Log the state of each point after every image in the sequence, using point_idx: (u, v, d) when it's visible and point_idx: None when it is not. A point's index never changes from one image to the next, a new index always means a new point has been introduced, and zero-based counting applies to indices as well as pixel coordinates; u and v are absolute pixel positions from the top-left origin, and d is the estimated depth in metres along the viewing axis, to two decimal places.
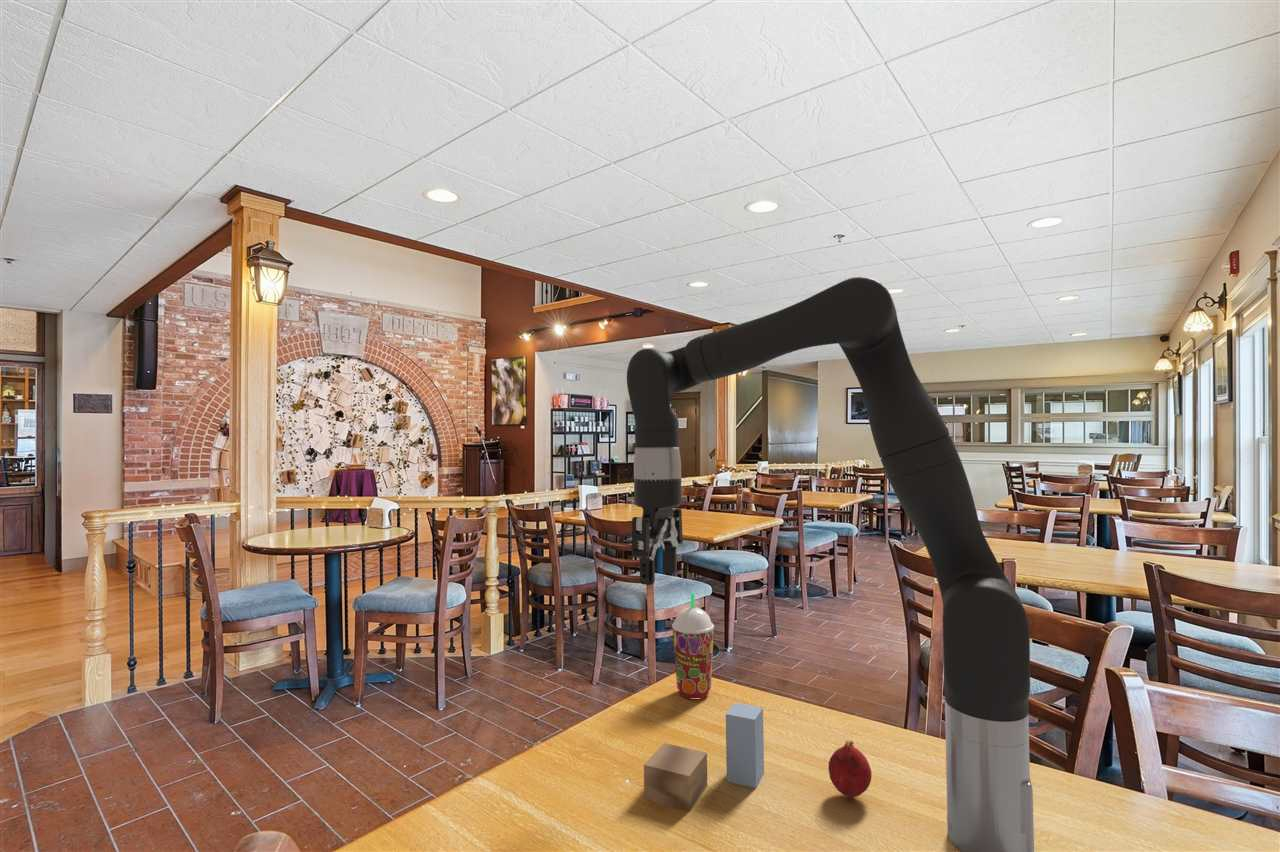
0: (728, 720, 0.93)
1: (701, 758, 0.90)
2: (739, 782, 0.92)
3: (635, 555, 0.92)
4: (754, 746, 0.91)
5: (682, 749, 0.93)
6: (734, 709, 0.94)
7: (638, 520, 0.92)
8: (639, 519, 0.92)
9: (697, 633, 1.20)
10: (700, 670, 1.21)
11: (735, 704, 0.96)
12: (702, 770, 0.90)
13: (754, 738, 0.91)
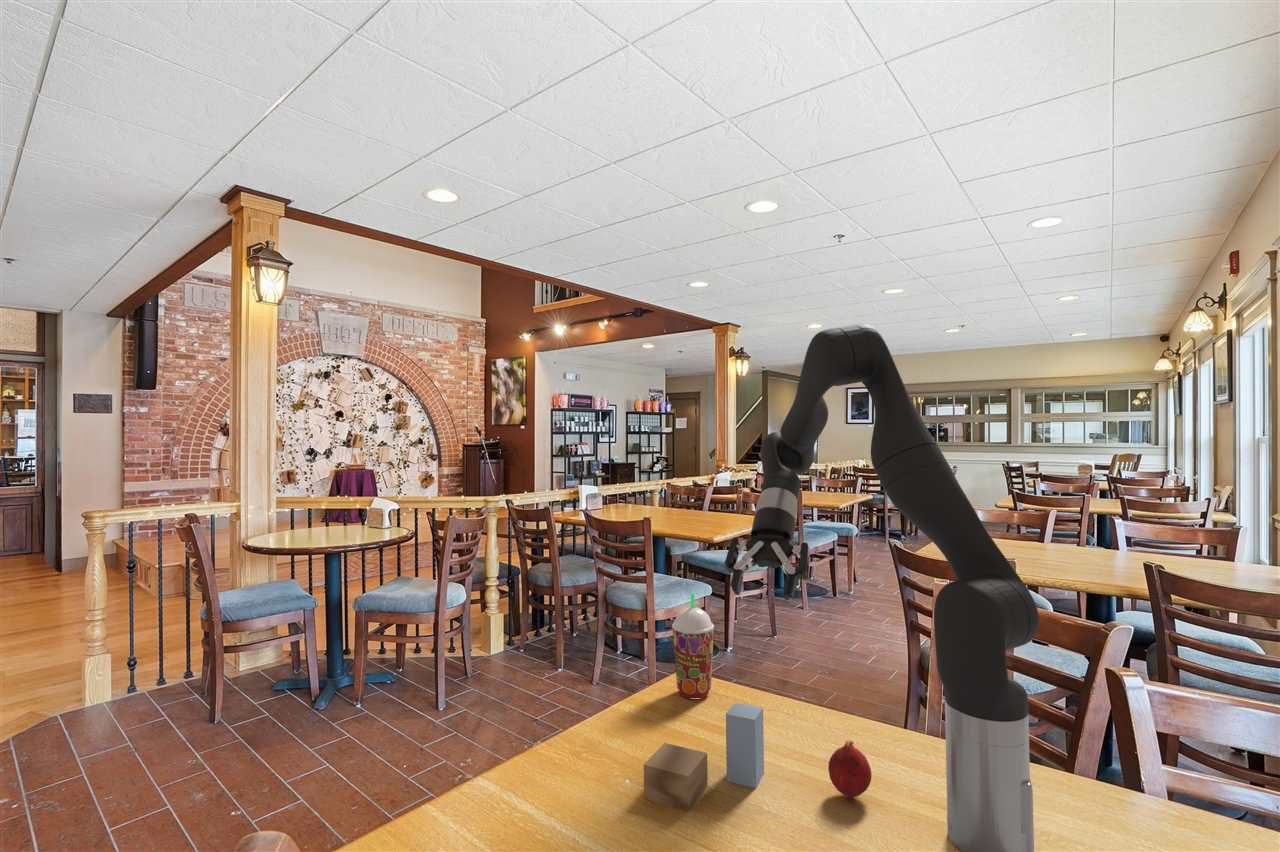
0: (728, 720, 0.93)
1: (701, 758, 0.90)
2: (739, 782, 0.92)
3: (727, 569, 1.11)
4: (754, 746, 0.91)
5: (682, 749, 0.93)
6: (734, 709, 0.94)
7: None
8: None
9: (697, 633, 1.20)
10: (700, 670, 1.21)
11: (735, 704, 0.96)
12: (702, 770, 0.90)
13: (754, 738, 0.91)
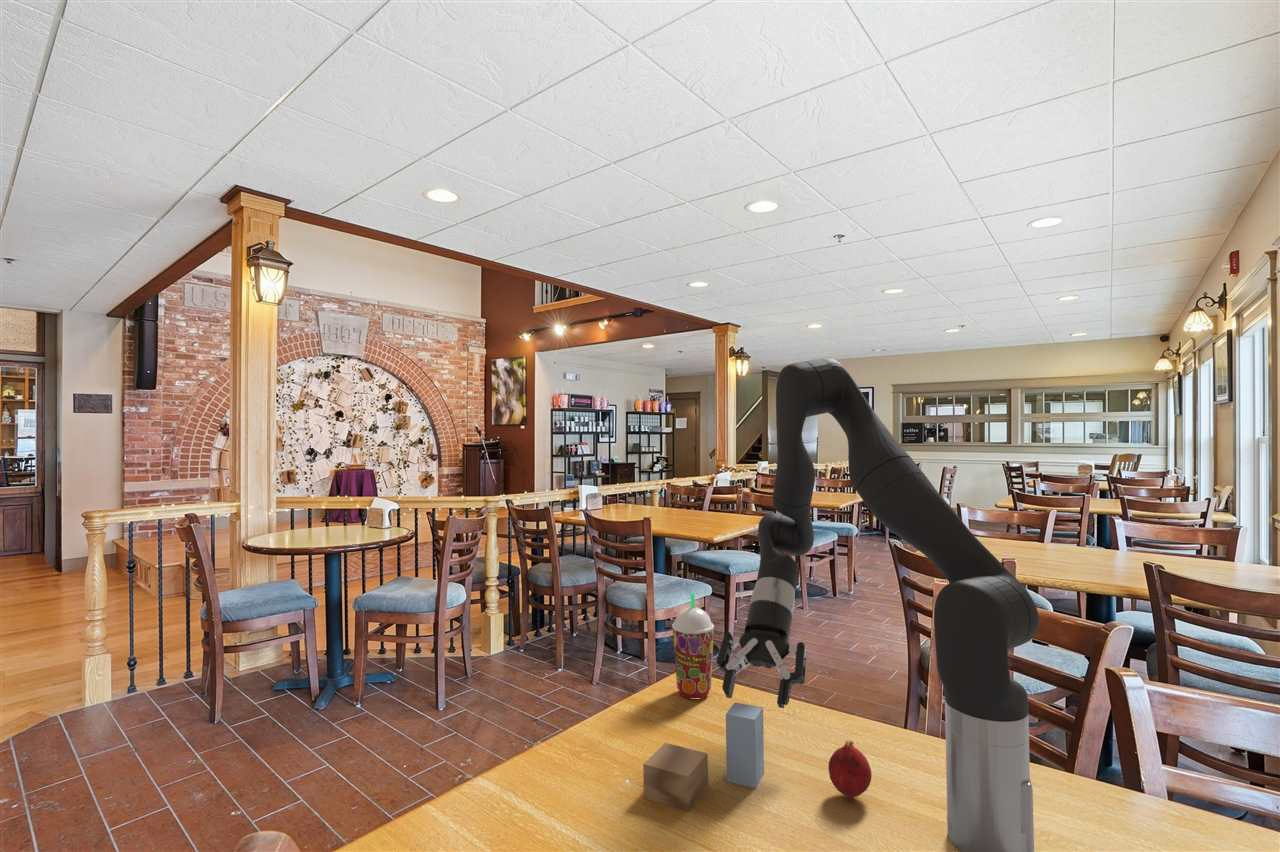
0: (728, 720, 0.93)
1: (701, 759, 0.90)
2: (739, 782, 0.92)
3: (719, 666, 1.05)
4: (754, 746, 0.91)
5: (683, 749, 0.93)
6: (734, 709, 0.94)
7: None
8: None
9: (697, 633, 1.20)
10: (700, 670, 1.21)
11: (735, 704, 0.96)
12: (703, 770, 0.90)
13: (754, 738, 0.91)
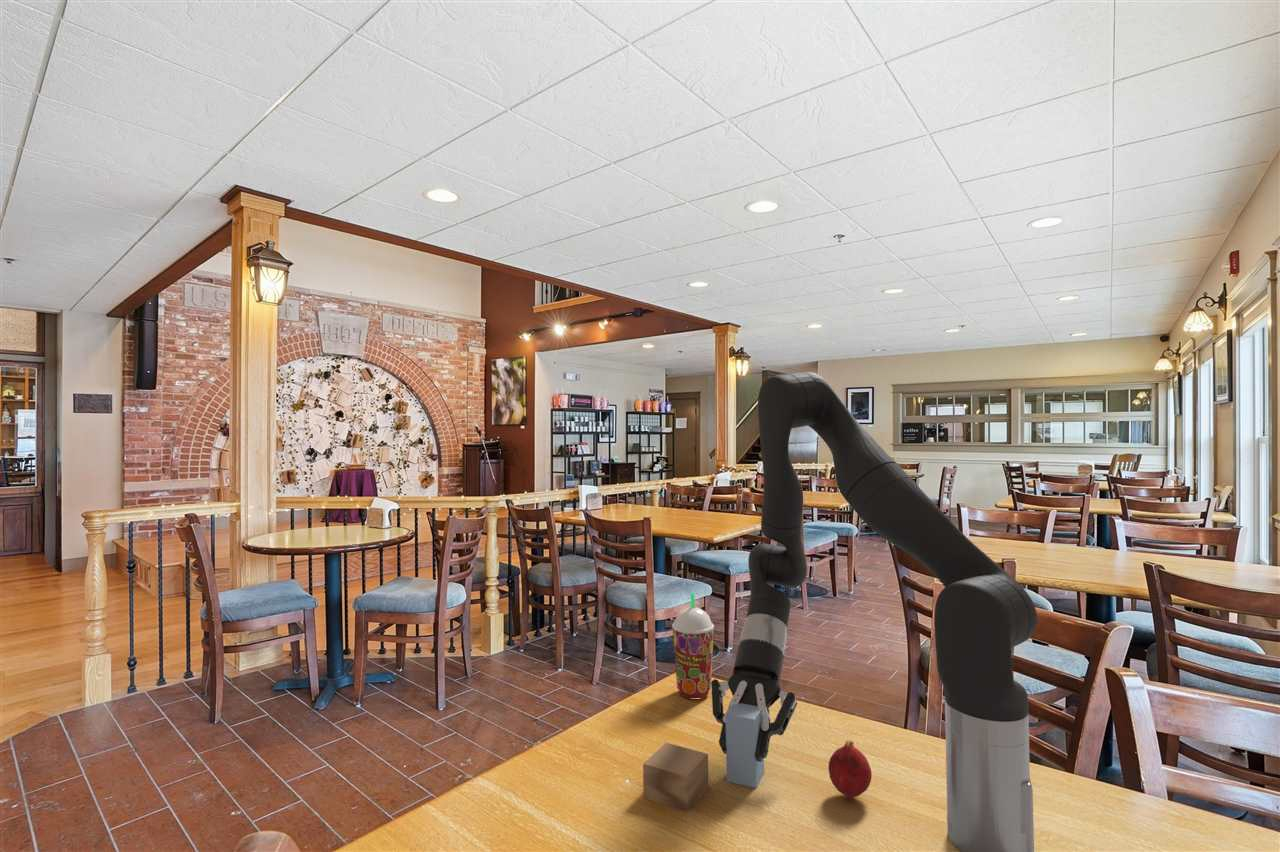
0: (727, 720, 0.93)
1: (701, 759, 0.90)
2: (739, 782, 0.92)
3: None
4: (754, 746, 0.91)
5: (683, 749, 0.93)
6: (734, 709, 0.94)
7: None
8: None
9: (697, 633, 1.20)
10: (700, 670, 1.21)
11: (735, 704, 0.96)
12: (703, 771, 0.90)
13: (754, 738, 0.91)
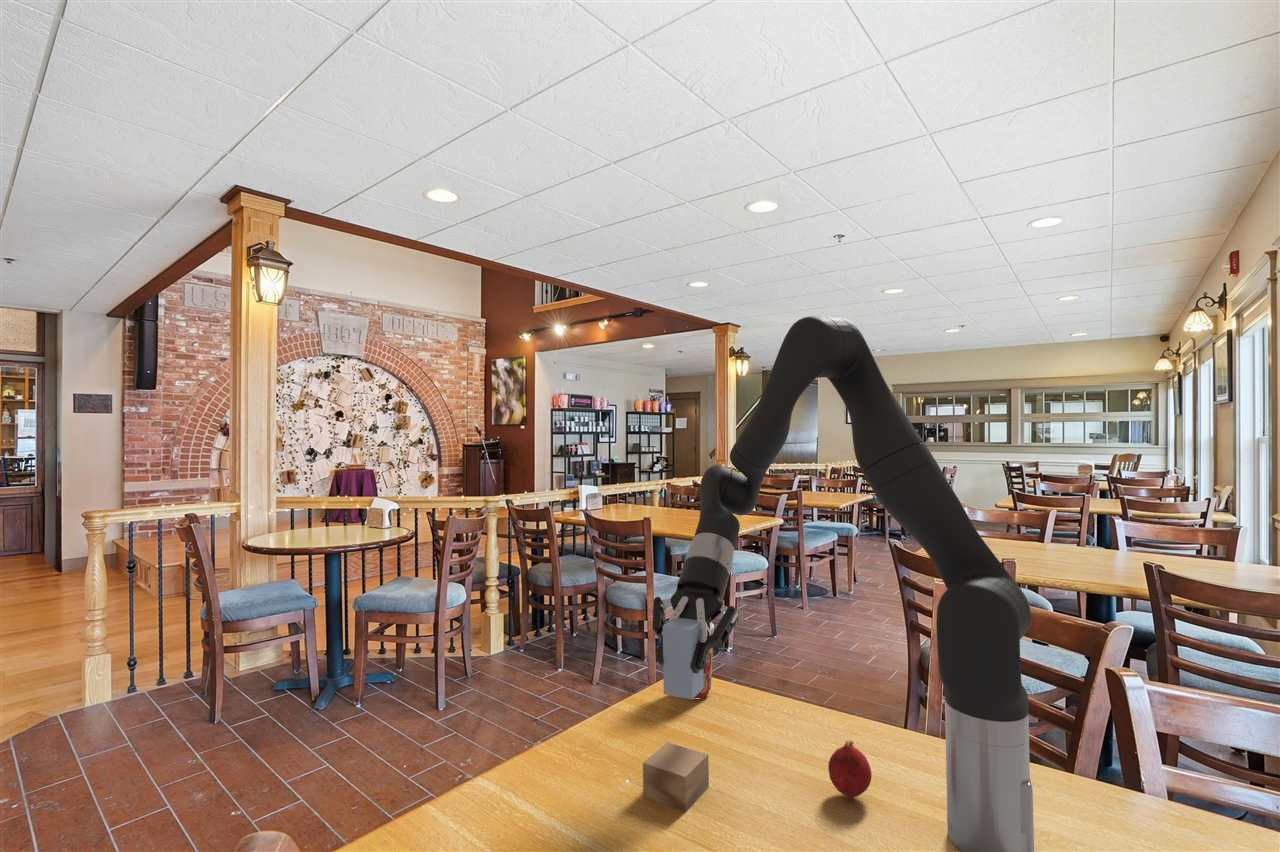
0: (665, 632, 0.90)
1: (701, 760, 0.90)
2: (676, 694, 0.90)
3: (656, 634, 0.96)
4: (690, 656, 0.89)
5: (684, 749, 0.93)
6: (672, 622, 0.92)
7: None
8: None
9: None
10: None
11: None
12: (703, 771, 0.90)
13: (690, 648, 0.89)
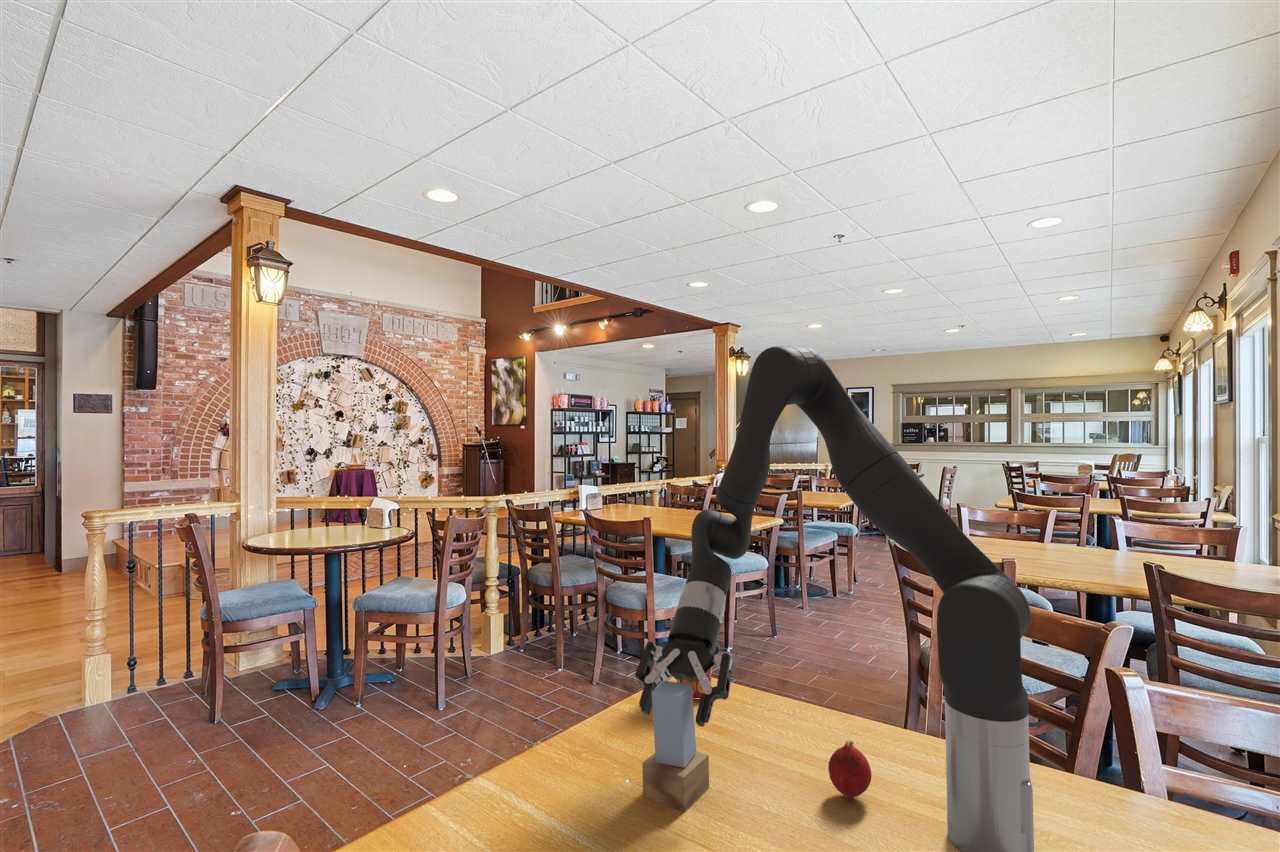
0: (654, 698, 0.89)
1: (701, 760, 0.90)
2: (668, 762, 0.88)
3: None
4: (680, 724, 0.87)
5: None
6: (661, 687, 0.91)
7: None
8: None
9: None
10: None
11: (664, 682, 0.93)
12: (703, 772, 0.89)
13: (680, 715, 0.88)
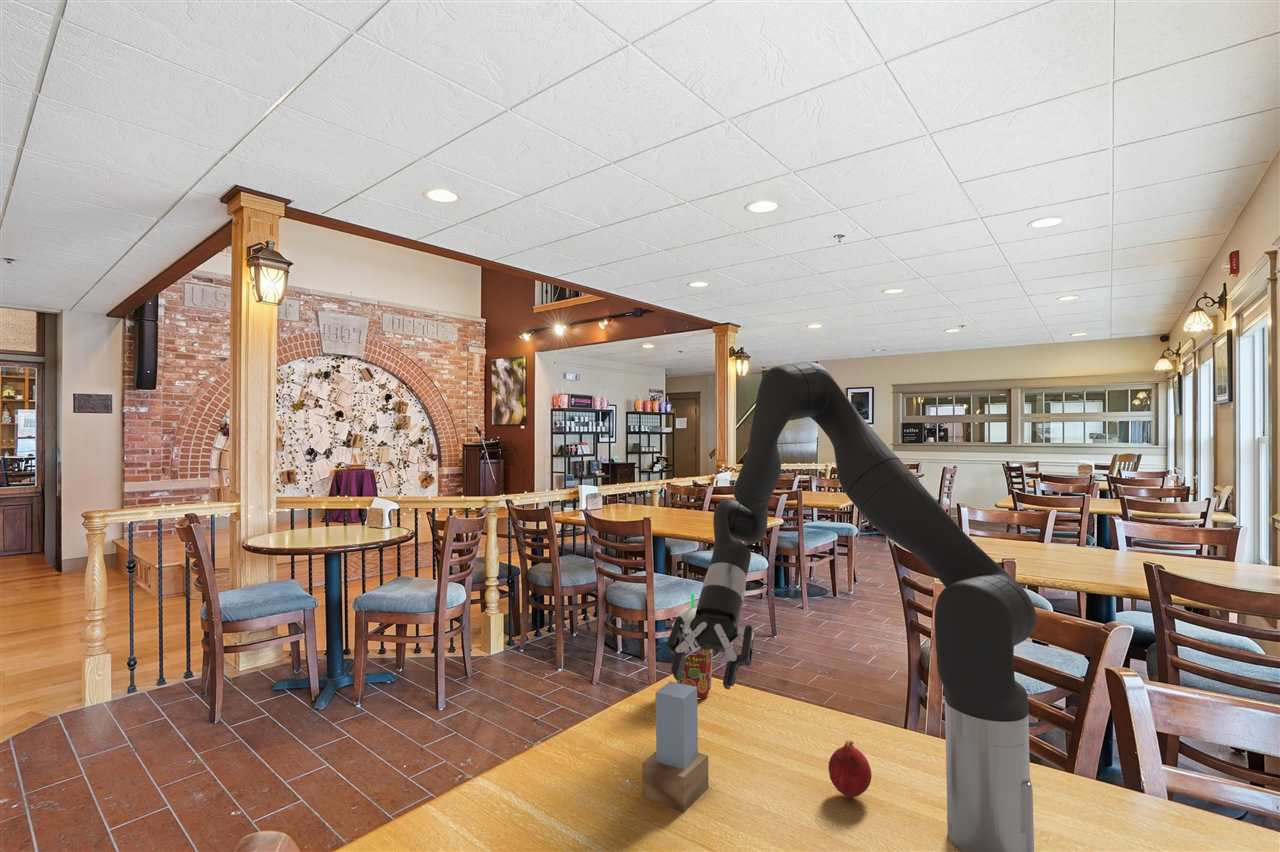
0: (657, 699, 0.89)
1: (701, 760, 0.89)
2: (668, 763, 0.88)
3: None
4: (683, 726, 0.87)
5: None
6: (666, 688, 0.91)
7: None
8: None
9: None
10: (700, 670, 1.21)
11: (669, 683, 0.93)
12: (702, 772, 0.89)
13: (683, 718, 0.87)
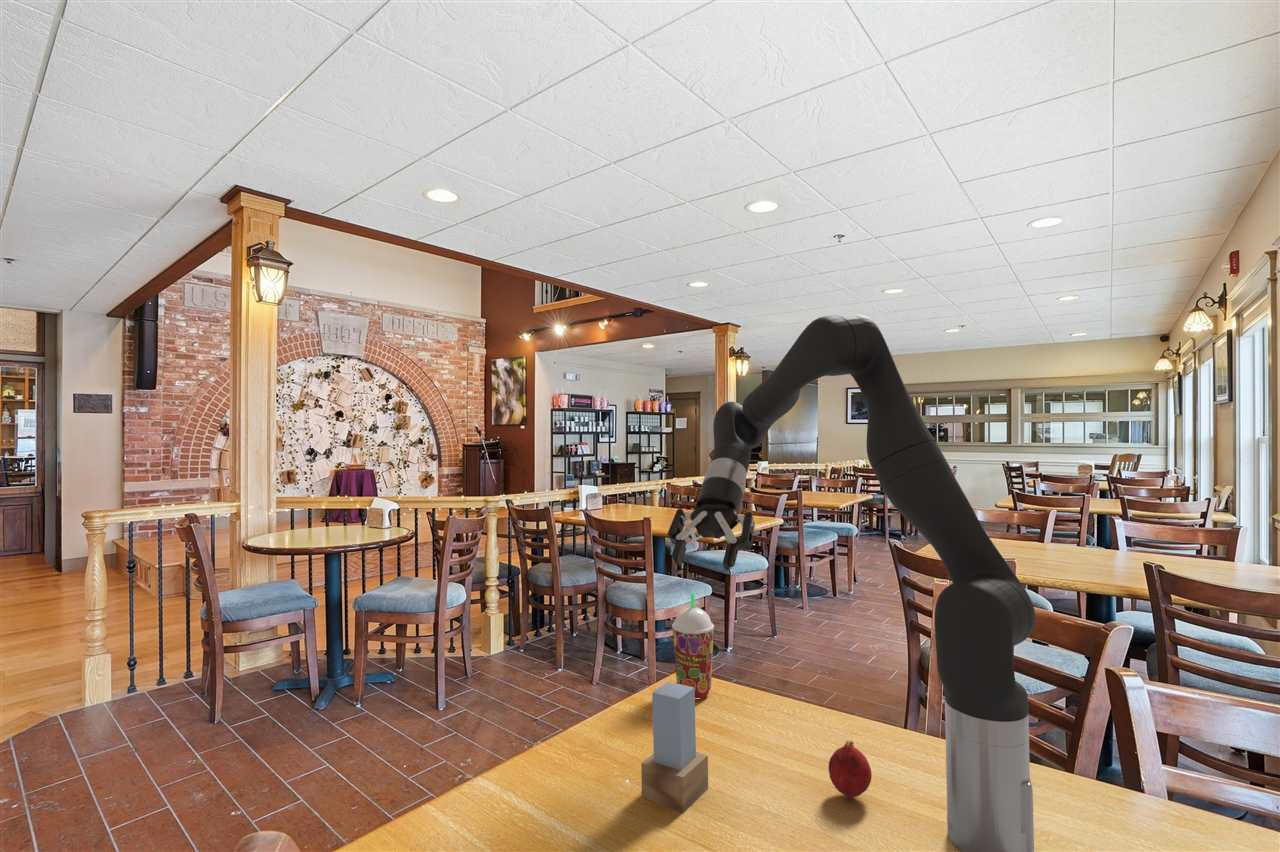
0: (654, 699, 0.89)
1: (700, 761, 0.89)
2: (665, 763, 0.88)
3: None
4: (679, 726, 0.87)
5: None
6: (663, 688, 0.91)
7: None
8: None
9: (697, 633, 1.20)
10: (700, 670, 1.21)
11: (667, 683, 0.93)
12: (701, 773, 0.89)
13: (679, 718, 0.87)
